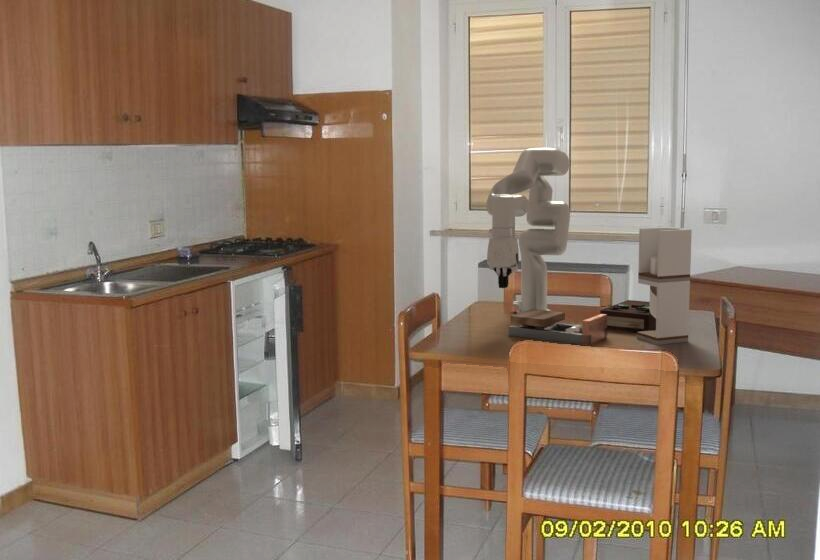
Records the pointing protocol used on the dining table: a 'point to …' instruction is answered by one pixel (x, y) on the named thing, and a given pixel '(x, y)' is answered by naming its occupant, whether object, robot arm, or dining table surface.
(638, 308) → the decorative book
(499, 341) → the dining table surface
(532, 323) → the slab
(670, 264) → the white tower
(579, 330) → the roller
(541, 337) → the track
